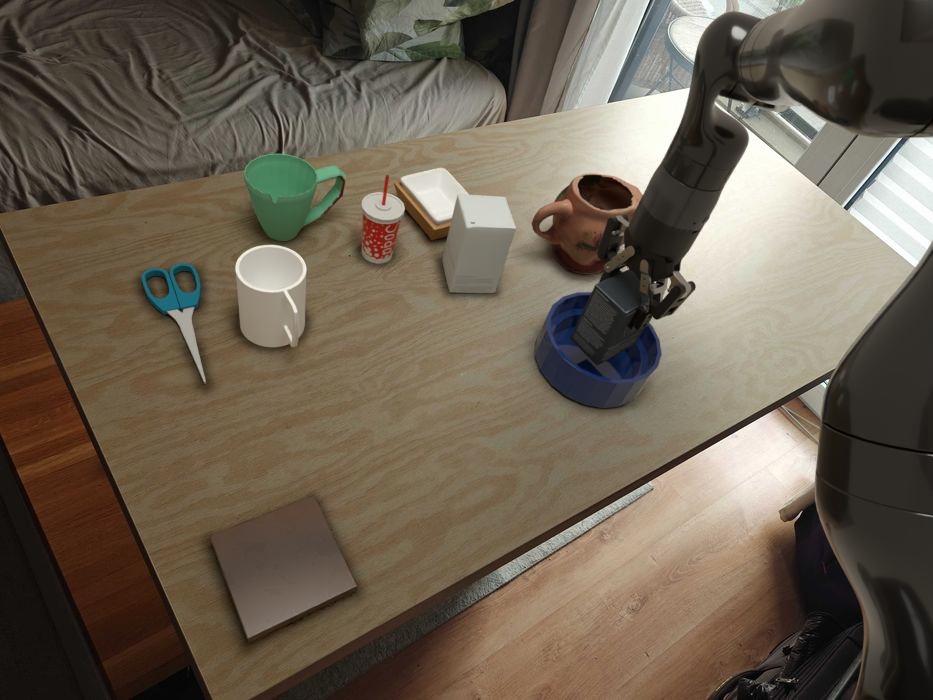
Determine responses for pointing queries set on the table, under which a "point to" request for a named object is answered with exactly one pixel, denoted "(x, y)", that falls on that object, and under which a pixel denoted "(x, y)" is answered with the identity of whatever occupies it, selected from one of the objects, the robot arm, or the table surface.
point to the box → (609, 318)
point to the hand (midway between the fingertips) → (619, 309)
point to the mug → (289, 193)
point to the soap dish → (430, 199)
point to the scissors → (172, 307)
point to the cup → (271, 295)
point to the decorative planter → (585, 218)
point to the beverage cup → (380, 224)
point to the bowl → (581, 375)
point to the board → (282, 567)
